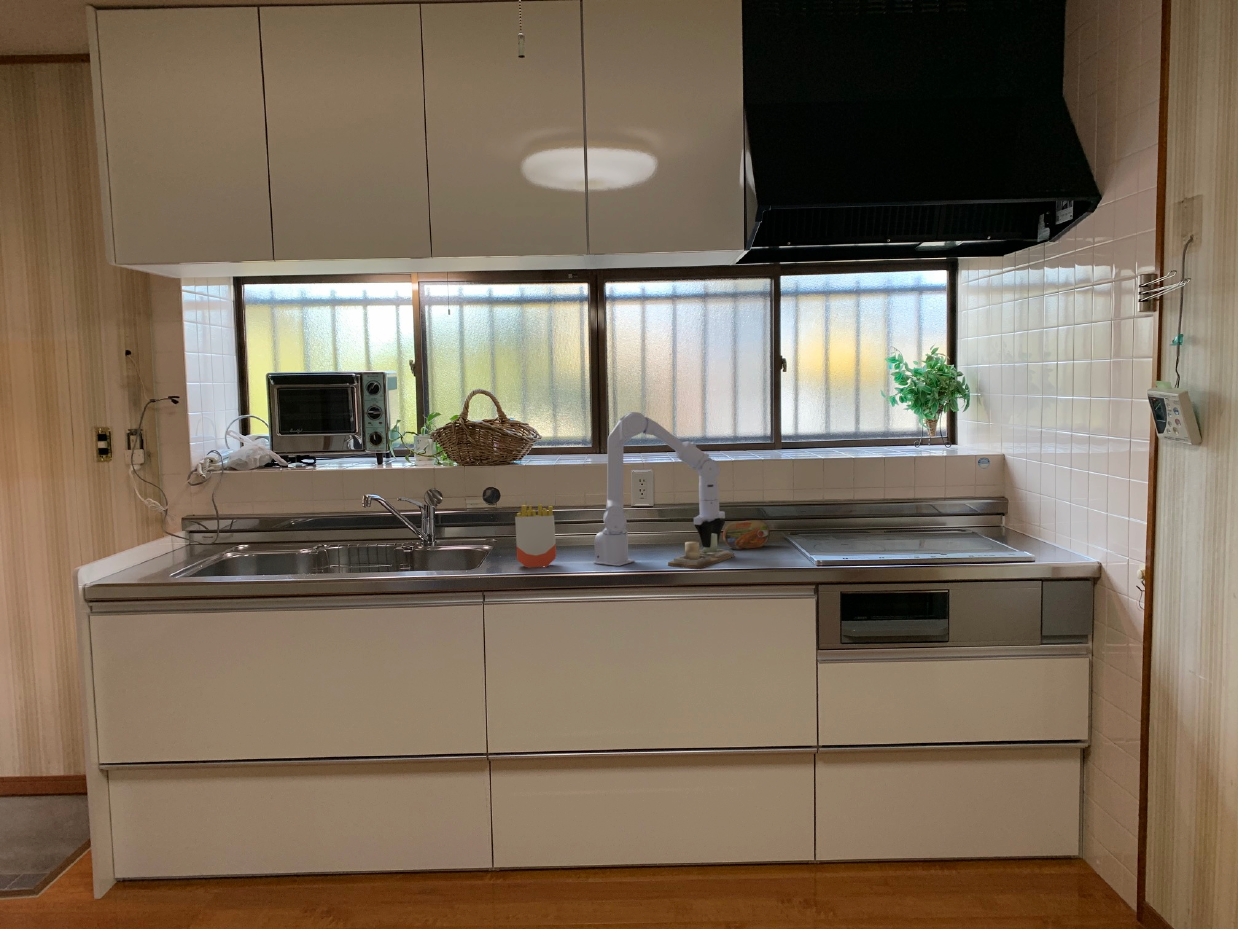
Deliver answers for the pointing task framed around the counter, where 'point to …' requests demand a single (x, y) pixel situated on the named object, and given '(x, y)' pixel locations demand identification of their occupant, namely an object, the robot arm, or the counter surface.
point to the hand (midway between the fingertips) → (710, 546)
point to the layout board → (701, 559)
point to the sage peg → (712, 544)
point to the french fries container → (535, 536)
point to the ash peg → (692, 550)
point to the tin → (746, 534)
